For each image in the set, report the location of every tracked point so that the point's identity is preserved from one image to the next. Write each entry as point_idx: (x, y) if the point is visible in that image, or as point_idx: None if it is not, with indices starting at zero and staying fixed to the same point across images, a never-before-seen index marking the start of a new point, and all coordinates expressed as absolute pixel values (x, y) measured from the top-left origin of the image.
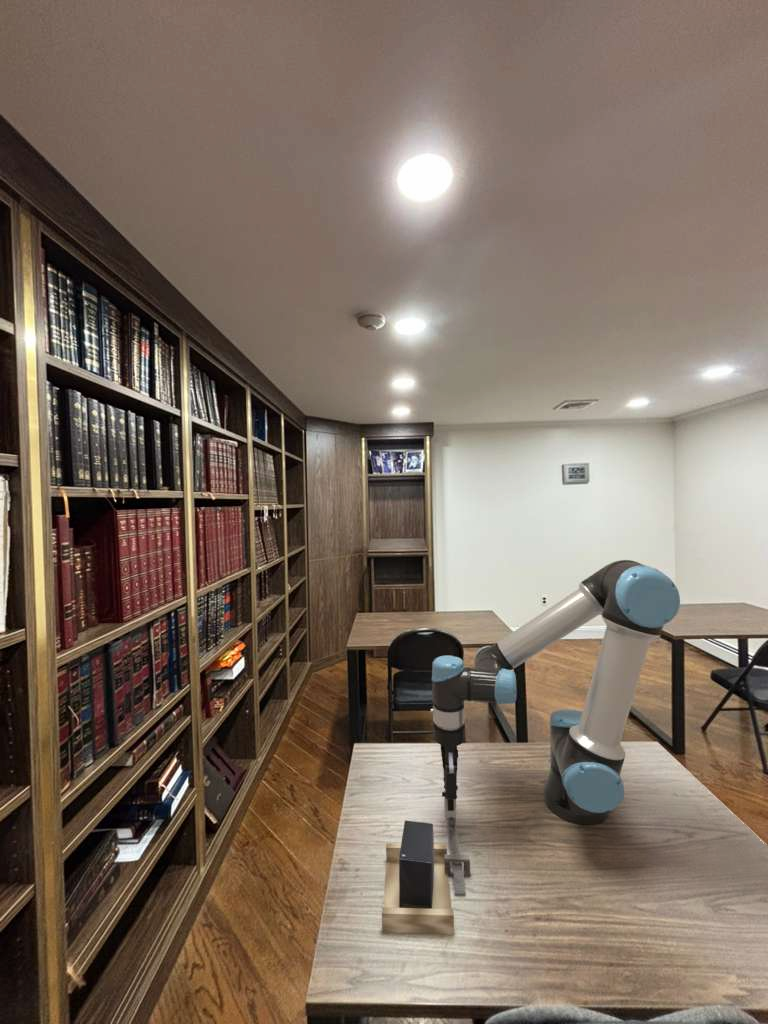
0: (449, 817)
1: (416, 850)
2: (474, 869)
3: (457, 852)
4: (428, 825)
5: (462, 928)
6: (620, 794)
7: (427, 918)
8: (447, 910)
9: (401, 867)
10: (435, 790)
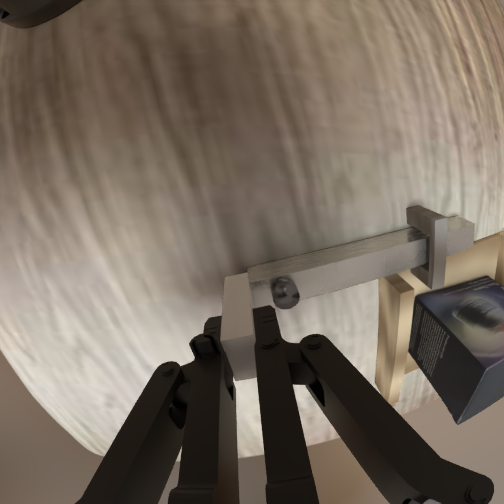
0: (253, 302)
1: None
2: (398, 194)
3: (401, 253)
4: (490, 375)
5: (498, 217)
6: None
7: None
8: None
9: None
10: (105, 340)
